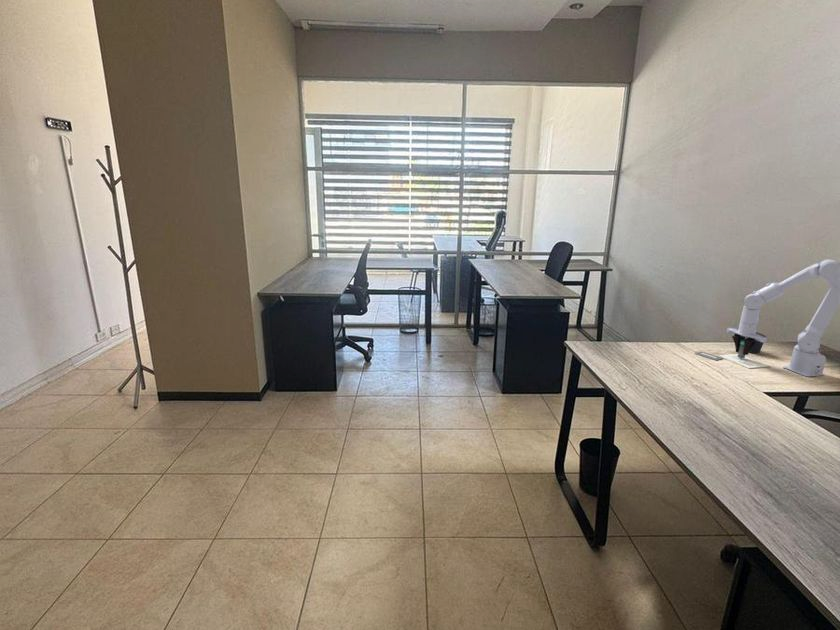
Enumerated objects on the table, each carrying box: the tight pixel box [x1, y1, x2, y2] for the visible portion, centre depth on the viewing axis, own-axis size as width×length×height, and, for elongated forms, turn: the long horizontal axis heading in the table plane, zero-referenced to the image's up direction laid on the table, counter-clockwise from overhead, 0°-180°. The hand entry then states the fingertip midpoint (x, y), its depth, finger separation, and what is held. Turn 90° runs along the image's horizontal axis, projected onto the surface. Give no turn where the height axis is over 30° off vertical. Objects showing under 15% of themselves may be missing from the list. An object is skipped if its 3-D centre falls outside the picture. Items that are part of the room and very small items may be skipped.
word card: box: [694, 351, 724, 361], centre depth 181 cm, size 9×5×1 cm, turn 26°
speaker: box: [745, 332, 767, 355], centre depth 185 cm, size 8×6×10 cm
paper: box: [718, 353, 770, 370], centre depth 175 cm, size 14×10×1 cm
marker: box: [737, 340, 746, 358], centre depth 176 cm, size 3×3×7 cm
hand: (741, 353), depth 177 cm, fingers closed on marker, 2 cm apart
